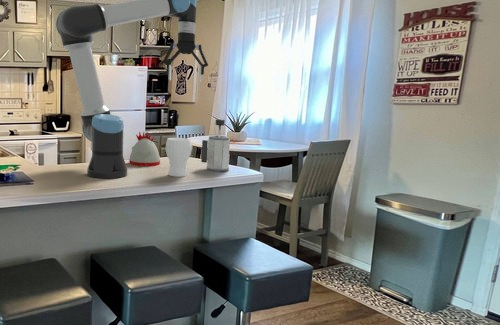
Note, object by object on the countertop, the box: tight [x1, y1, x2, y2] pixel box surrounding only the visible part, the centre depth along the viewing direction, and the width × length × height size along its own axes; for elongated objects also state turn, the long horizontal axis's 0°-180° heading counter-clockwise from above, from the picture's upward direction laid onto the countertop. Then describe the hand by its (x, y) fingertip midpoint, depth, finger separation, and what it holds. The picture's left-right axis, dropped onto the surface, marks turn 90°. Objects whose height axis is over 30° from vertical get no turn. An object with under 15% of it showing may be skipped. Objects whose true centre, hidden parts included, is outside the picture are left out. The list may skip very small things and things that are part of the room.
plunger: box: [215, 118, 225, 137], centre depth 200 cm, size 6×6×19 cm
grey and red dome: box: [128, 131, 161, 167], centre depth 204 cm, size 14×14×15 cm
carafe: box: [200, 135, 231, 173], centre depth 201 cm, size 12×10×15 cm
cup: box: [165, 137, 193, 178], centre depth 183 cm, size 11×11×15 cm
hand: (184, 81), depth 201 cm, fingers open, 13 cm apart
